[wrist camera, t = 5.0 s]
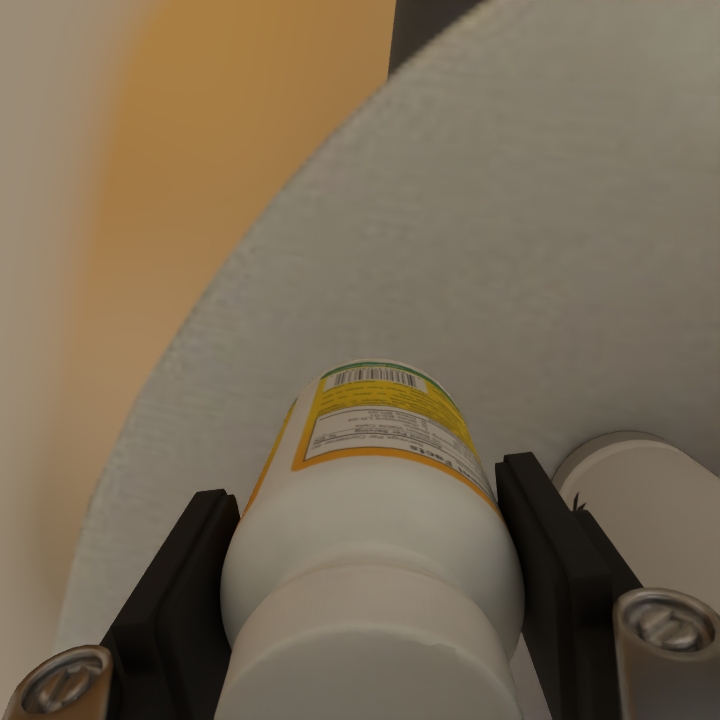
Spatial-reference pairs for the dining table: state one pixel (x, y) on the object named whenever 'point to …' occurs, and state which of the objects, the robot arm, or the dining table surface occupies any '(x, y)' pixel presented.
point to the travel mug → (650, 509)
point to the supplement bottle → (372, 563)
